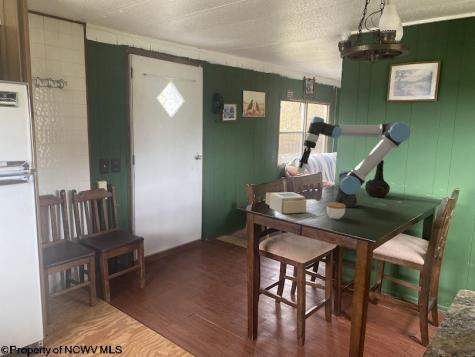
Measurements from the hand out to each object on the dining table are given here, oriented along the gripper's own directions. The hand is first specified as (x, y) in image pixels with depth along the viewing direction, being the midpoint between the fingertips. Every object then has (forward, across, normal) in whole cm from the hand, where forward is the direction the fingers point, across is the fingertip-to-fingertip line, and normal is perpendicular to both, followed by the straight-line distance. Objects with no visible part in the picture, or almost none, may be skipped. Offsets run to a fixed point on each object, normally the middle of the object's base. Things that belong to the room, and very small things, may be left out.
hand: (300, 173), depth 231 cm
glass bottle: (+1, -65, +54) cm, 84 cm away
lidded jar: (+18, +15, +29) cm, 37 cm away
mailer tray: (+23, +8, -2) cm, 25 cm away
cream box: (+24, +10, 0) cm, 26 cm away
